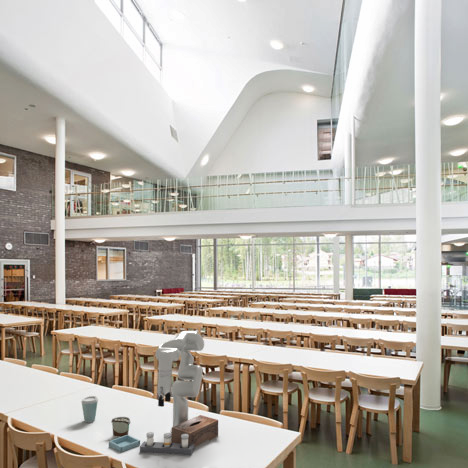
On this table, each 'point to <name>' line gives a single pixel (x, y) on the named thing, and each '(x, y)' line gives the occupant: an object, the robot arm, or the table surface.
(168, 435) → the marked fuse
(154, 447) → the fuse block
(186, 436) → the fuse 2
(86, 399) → the disposable coffee cup
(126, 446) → the tray
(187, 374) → the robot arm
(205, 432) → the tissue box cover
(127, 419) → the food container
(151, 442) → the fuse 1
